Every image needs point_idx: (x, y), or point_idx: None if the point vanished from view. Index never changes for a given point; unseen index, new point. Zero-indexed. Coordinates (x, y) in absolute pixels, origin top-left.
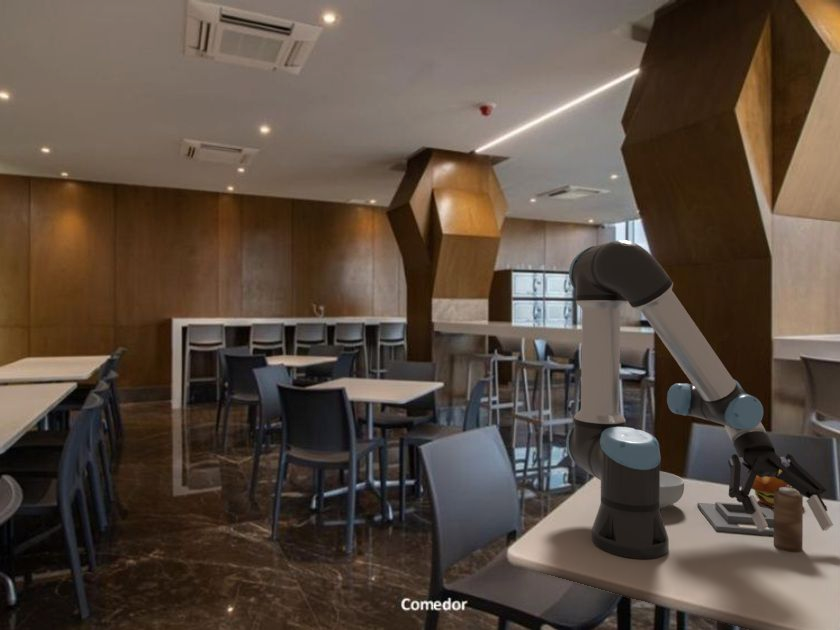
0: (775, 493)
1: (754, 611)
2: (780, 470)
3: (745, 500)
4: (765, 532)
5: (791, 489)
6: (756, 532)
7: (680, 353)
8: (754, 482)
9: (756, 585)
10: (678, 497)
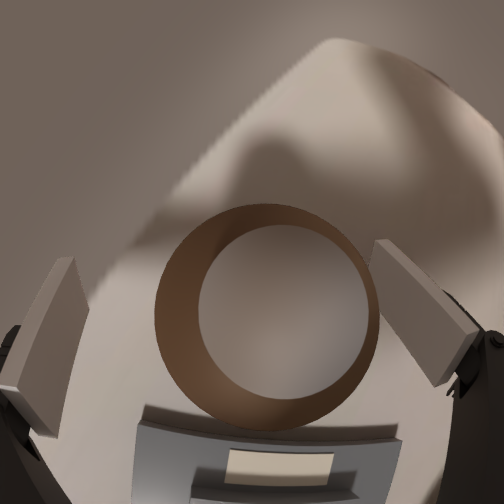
0: (372, 331)
1: (416, 74)
2: None
3: (476, 324)
4: (250, 440)
5: (247, 318)
6: (281, 441)
7: None
8: None
9: (404, 122)
10: None
